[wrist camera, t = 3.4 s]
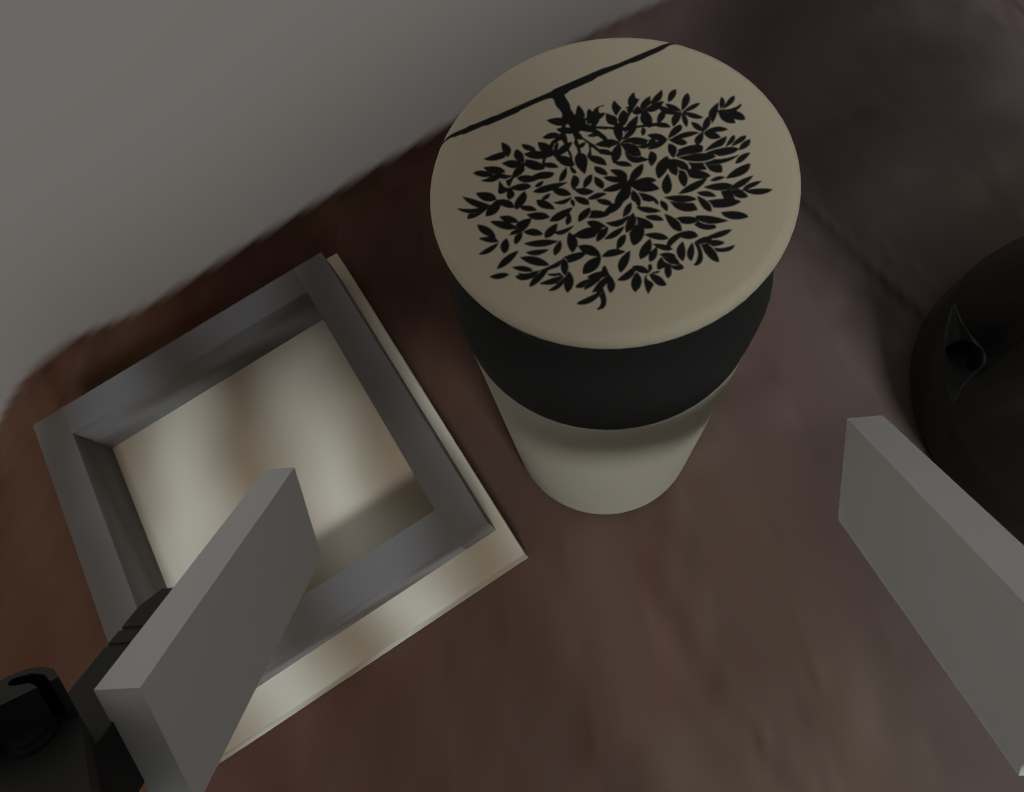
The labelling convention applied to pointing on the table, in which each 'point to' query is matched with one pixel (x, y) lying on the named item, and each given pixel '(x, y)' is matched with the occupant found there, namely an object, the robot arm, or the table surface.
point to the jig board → (272, 445)
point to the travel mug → (613, 254)
